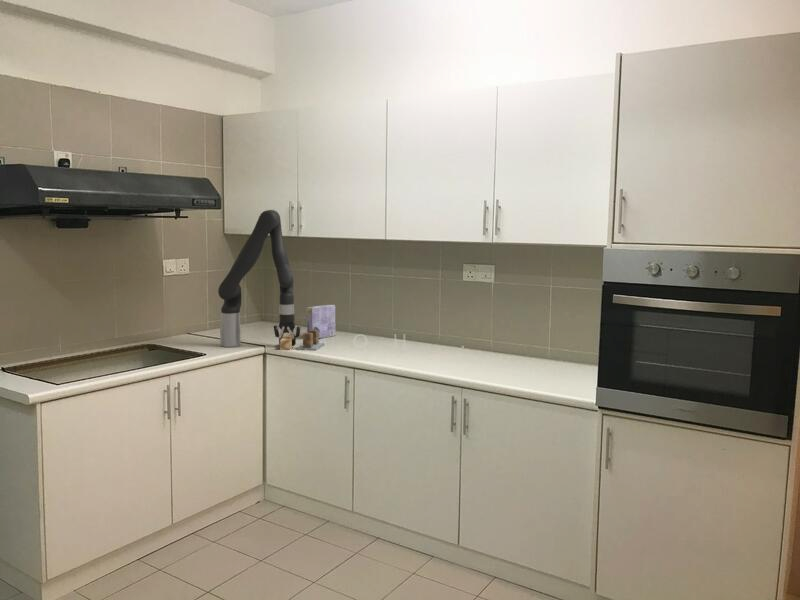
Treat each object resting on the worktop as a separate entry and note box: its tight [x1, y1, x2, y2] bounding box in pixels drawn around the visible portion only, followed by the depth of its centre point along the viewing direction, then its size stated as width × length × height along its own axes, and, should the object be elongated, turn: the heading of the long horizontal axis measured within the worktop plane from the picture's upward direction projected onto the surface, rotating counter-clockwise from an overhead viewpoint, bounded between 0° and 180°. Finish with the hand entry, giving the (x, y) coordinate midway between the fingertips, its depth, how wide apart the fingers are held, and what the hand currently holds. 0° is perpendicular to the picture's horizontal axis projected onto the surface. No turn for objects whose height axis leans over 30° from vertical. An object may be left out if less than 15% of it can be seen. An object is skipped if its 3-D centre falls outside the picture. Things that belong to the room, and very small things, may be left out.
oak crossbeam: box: [279, 334, 293, 351], centre depth 329 cm, size 5×15×5 cm, turn 2°
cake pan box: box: [306, 304, 337, 339], centre depth 356 cm, size 19×5×18 cm, turn 141°
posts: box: [302, 330, 320, 348], centre depth 329 cm, size 4×13×7 cm, turn 169°
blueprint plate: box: [296, 342, 326, 351], centre depth 329 cm, size 10×14×1 cm
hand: (287, 345), depth 329 cm, fingers closed on oak crossbeam, 5 cm apart
